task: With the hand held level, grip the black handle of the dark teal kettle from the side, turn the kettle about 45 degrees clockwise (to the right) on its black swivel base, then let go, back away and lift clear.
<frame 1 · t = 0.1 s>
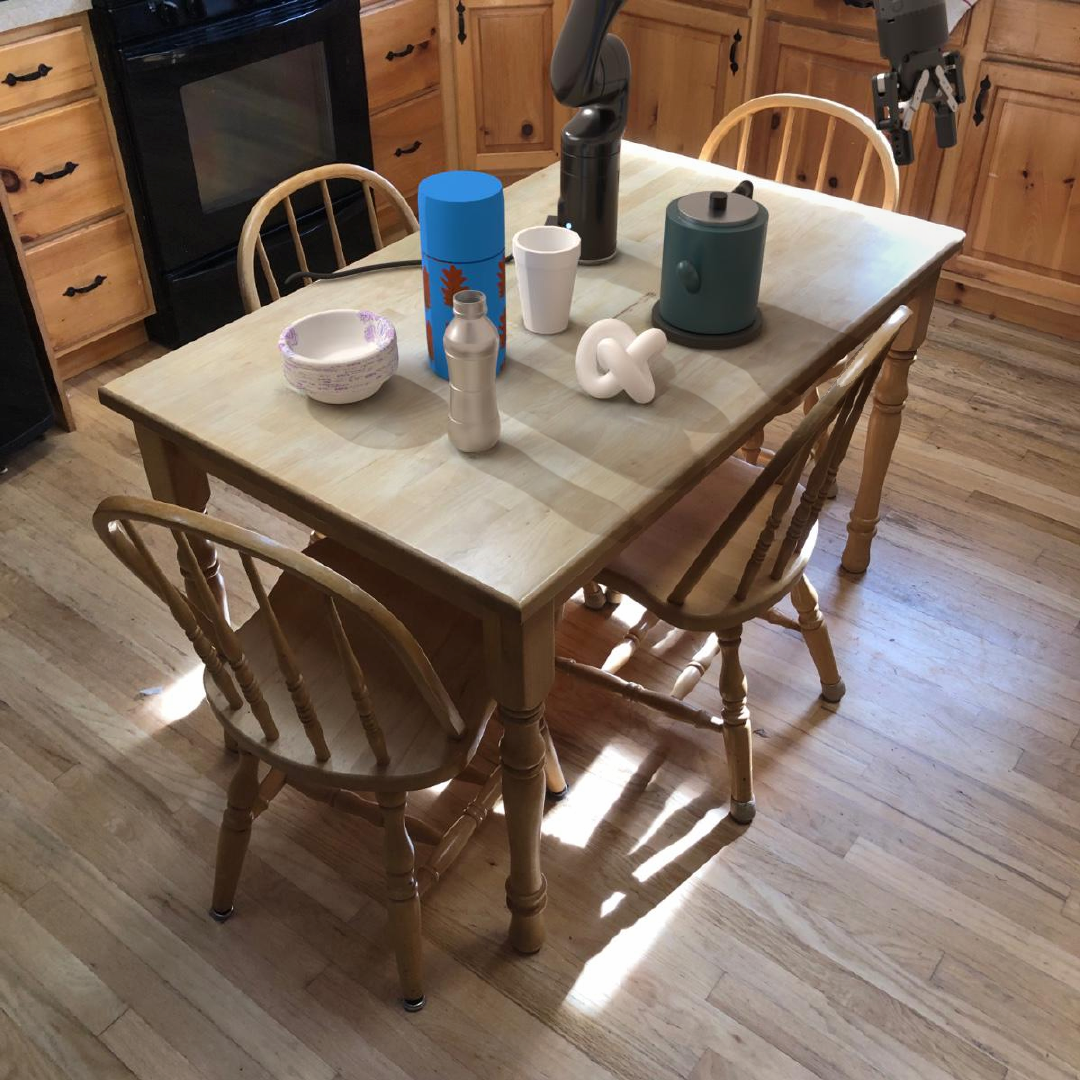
hand: (926, 155, 138), 31 cm above the table, tool tilted 20°, fingers open, 8 cm apart
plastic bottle: (474, 446, 147), on the table
thermos: (467, 364, 163), on the table
kettle: (716, 251, 166), point 11 cm above the table, hinge at 0.0°
foam cup: (546, 325, 172), on the table
white knot sculpture: (623, 395, 156), on the table
paper bowls: (343, 388, 158), on the table
kettle base: (706, 323, 172), on the table
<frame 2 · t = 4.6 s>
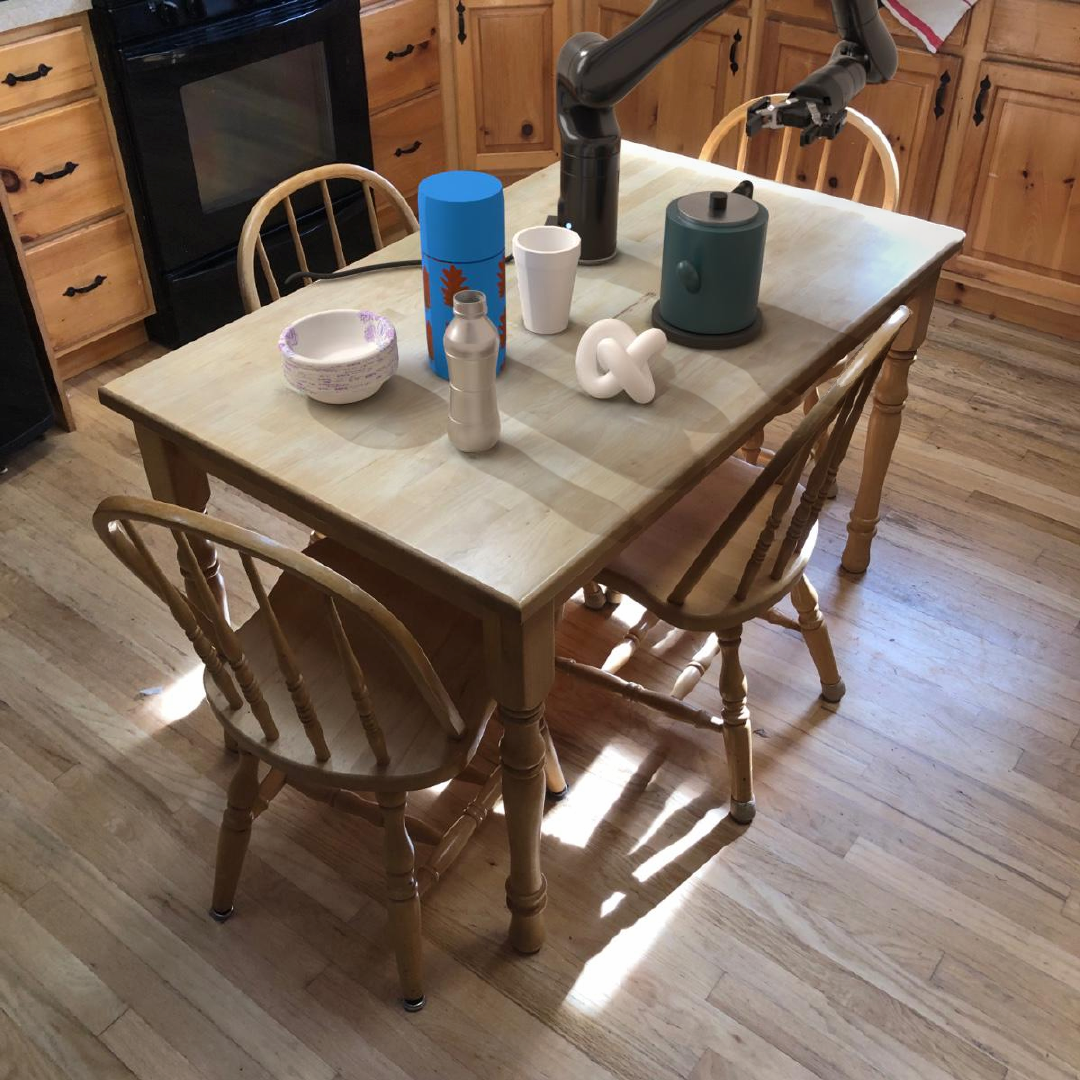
hand: (775, 135, 173), 21 cm above the table, tool horizontal, fingers open, 8 cm apart
nothing on the table moved.
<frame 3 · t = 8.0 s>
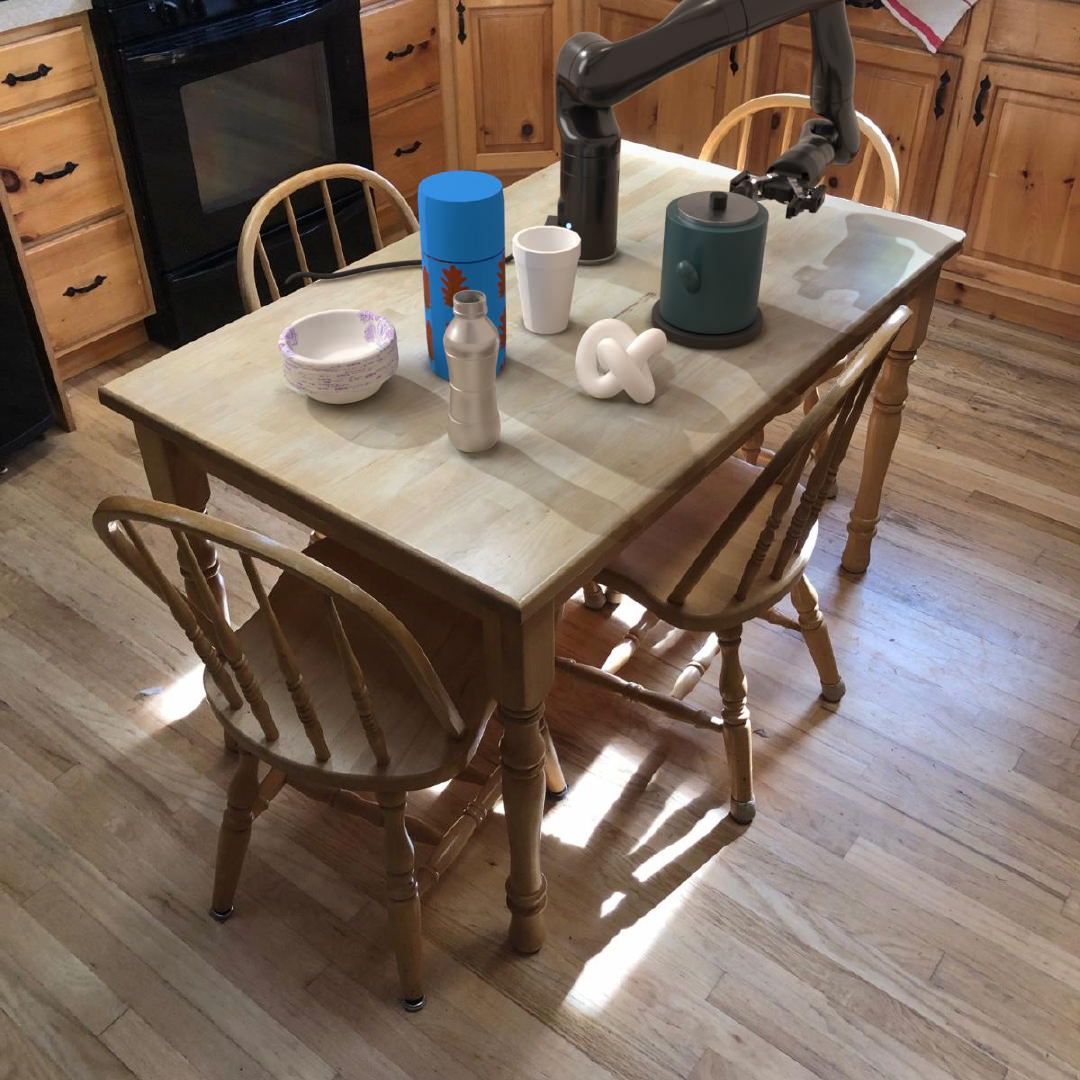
hand: (761, 207, 179), 11 cm above the table, tool horizontal, fingers open, 8 cm apart
nothing on the table moved.
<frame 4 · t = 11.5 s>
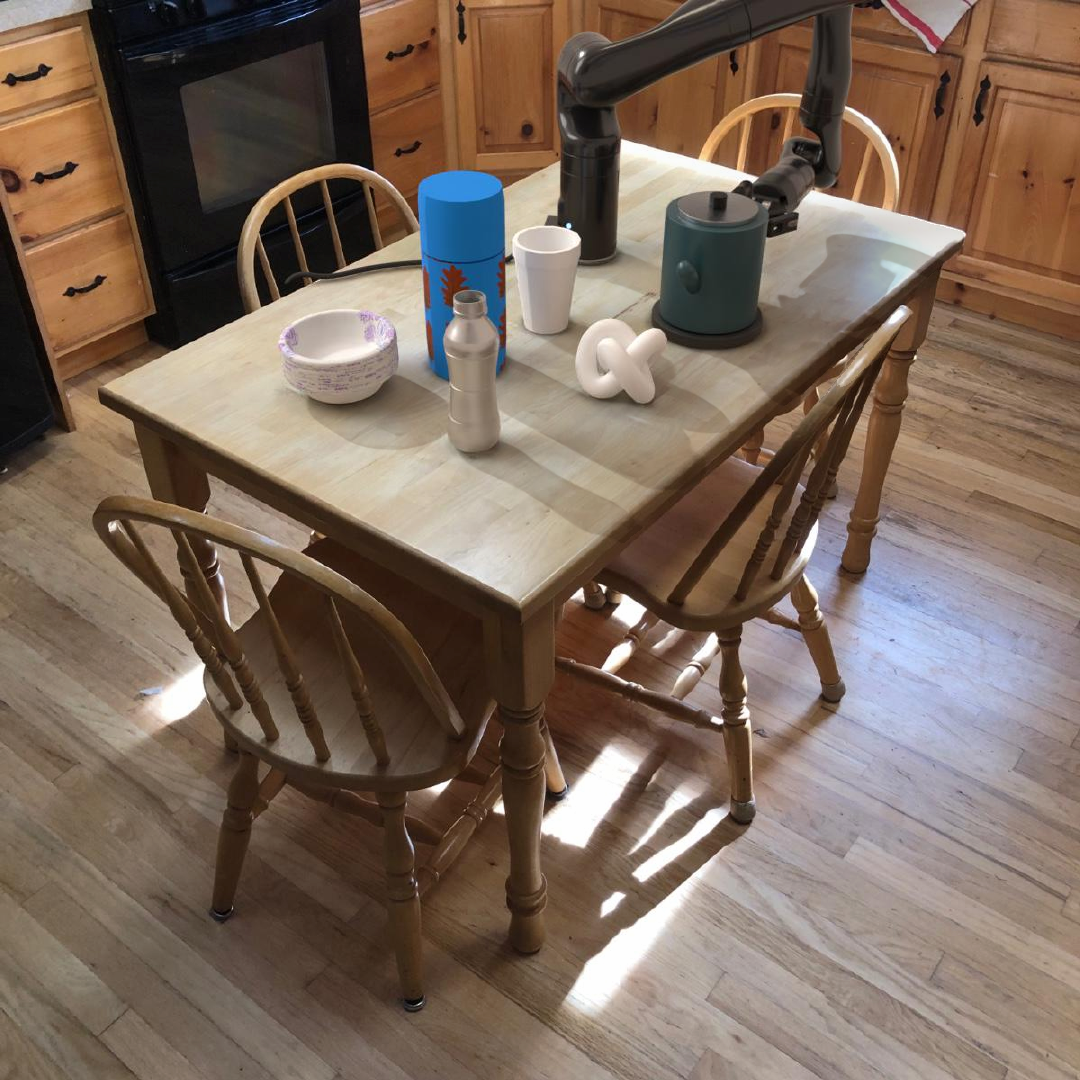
hand: (734, 235, 171), 10 cm above the table, tool horizontal, fingers closed on kettle, 2 cm apart
kettle: (716, 251, 166), point 11 cm above the table, hinge at 0.1°, touching gripper
everything else where it was.
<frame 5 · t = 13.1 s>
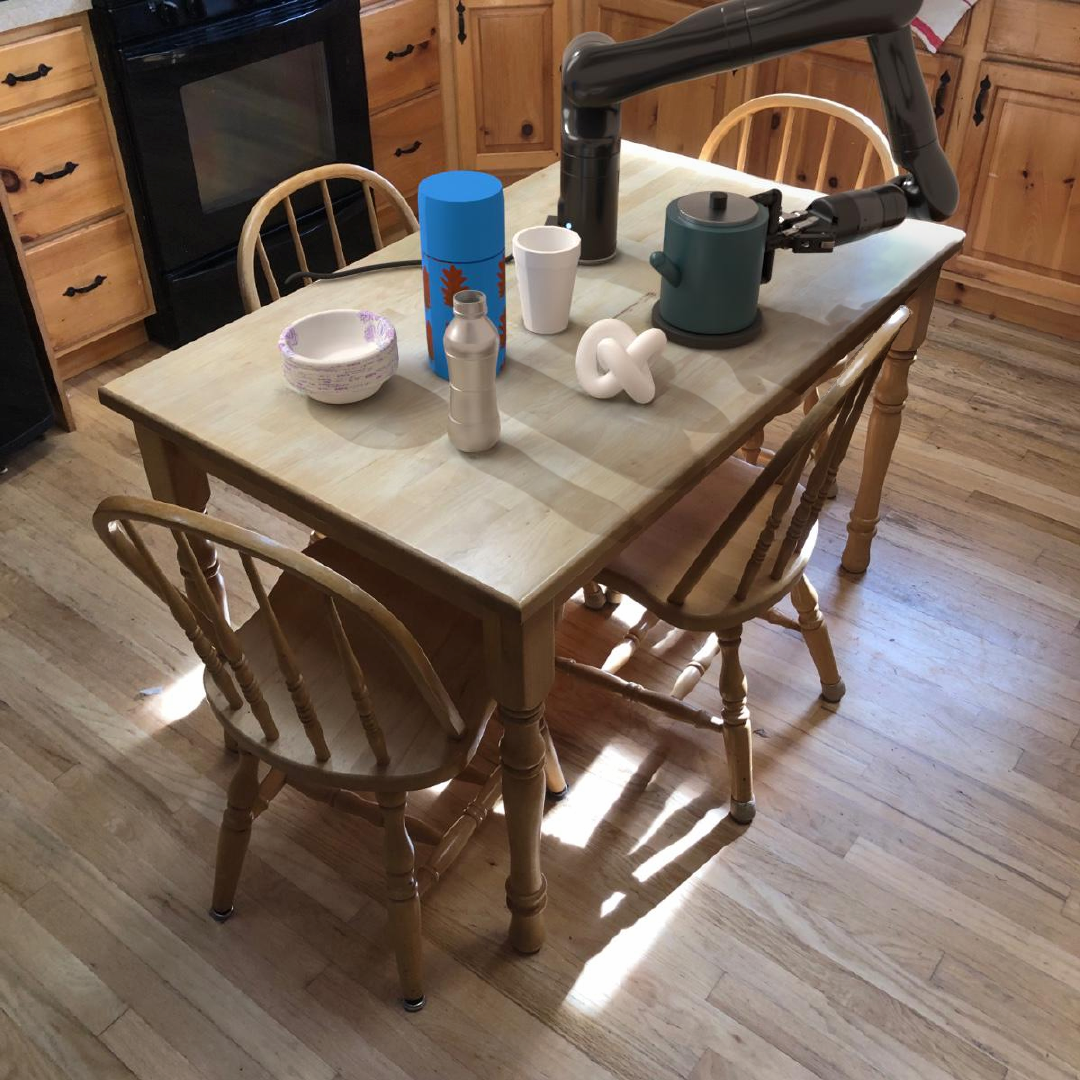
hand: (754, 241, 170), 10 cm above the table, tool horizontal, fingers closed on kettle, 2 cm apart
kettle: (719, 252, 166), point 11 cm above the table, hinge at -25.2°, touching gripper
everything else where it was.
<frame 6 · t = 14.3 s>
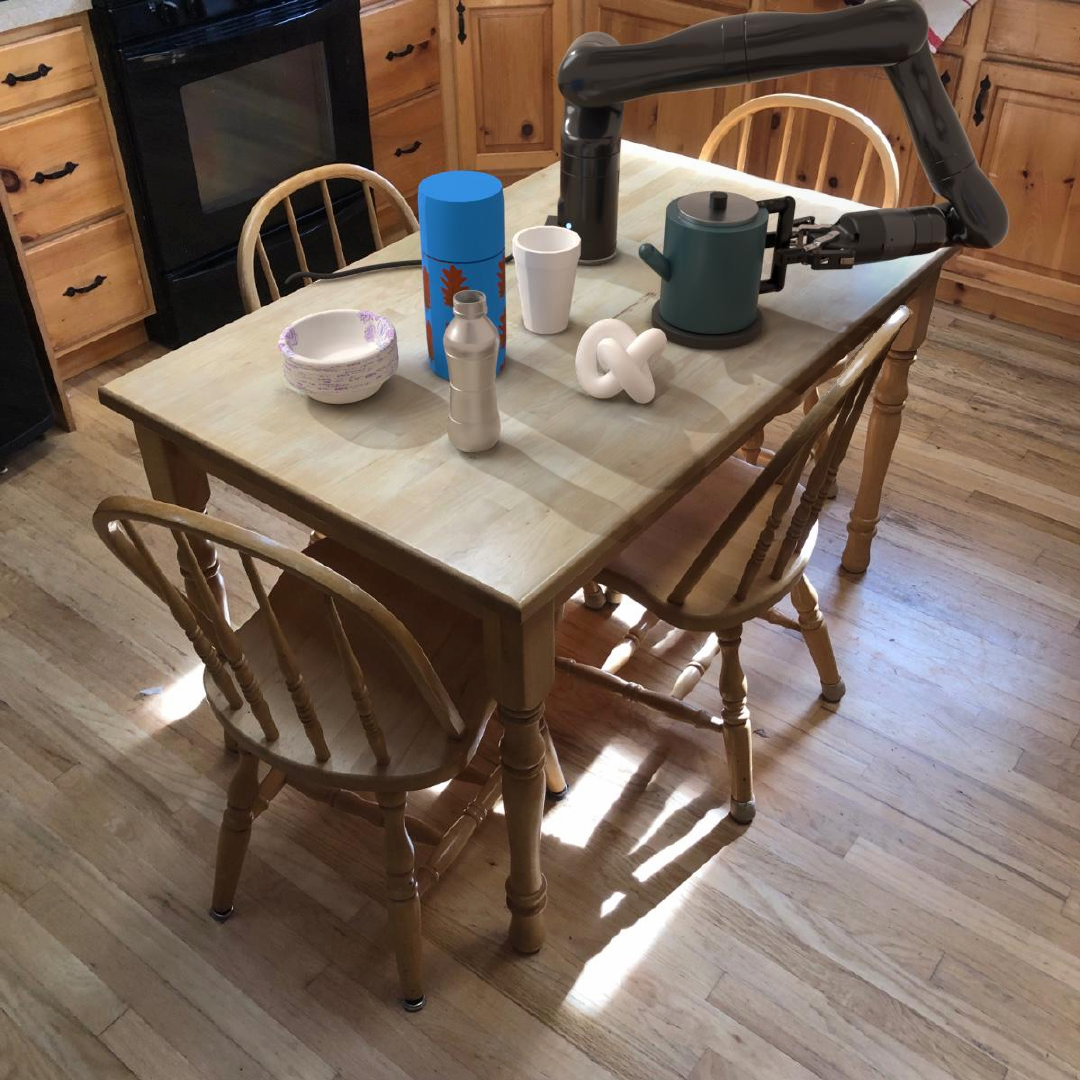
hand: (768, 249, 168), 10 cm above the table, tool horizontal, fingers open, 5 cm apart
kettle: (720, 253, 166), point 11 cm above the table, hinge at -41.1°
everything else where it was.
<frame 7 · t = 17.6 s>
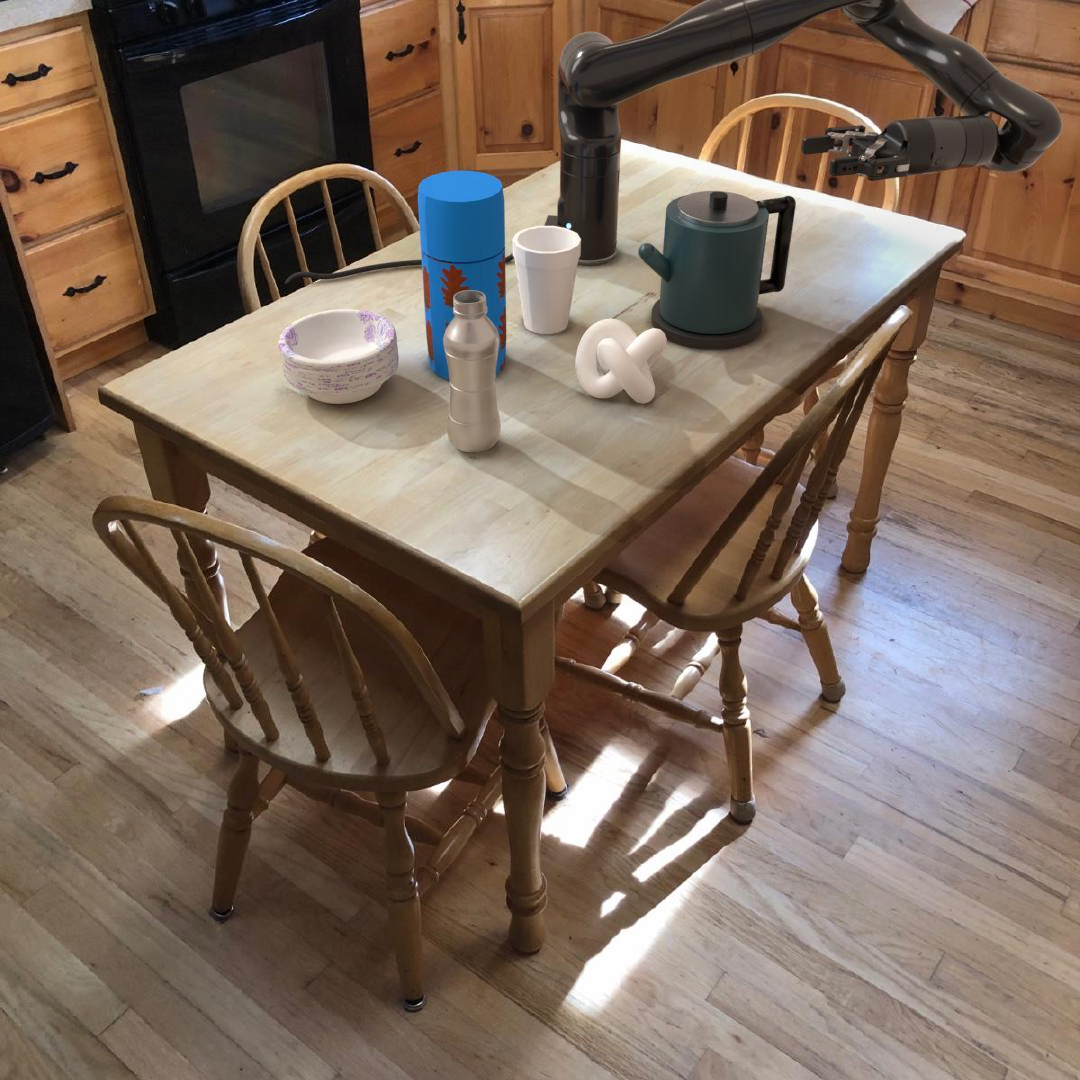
hand: (816, 156, 161), 23 cm above the table, tool horizontal, fingers open, 8 cm apart
nothing on the table moved.
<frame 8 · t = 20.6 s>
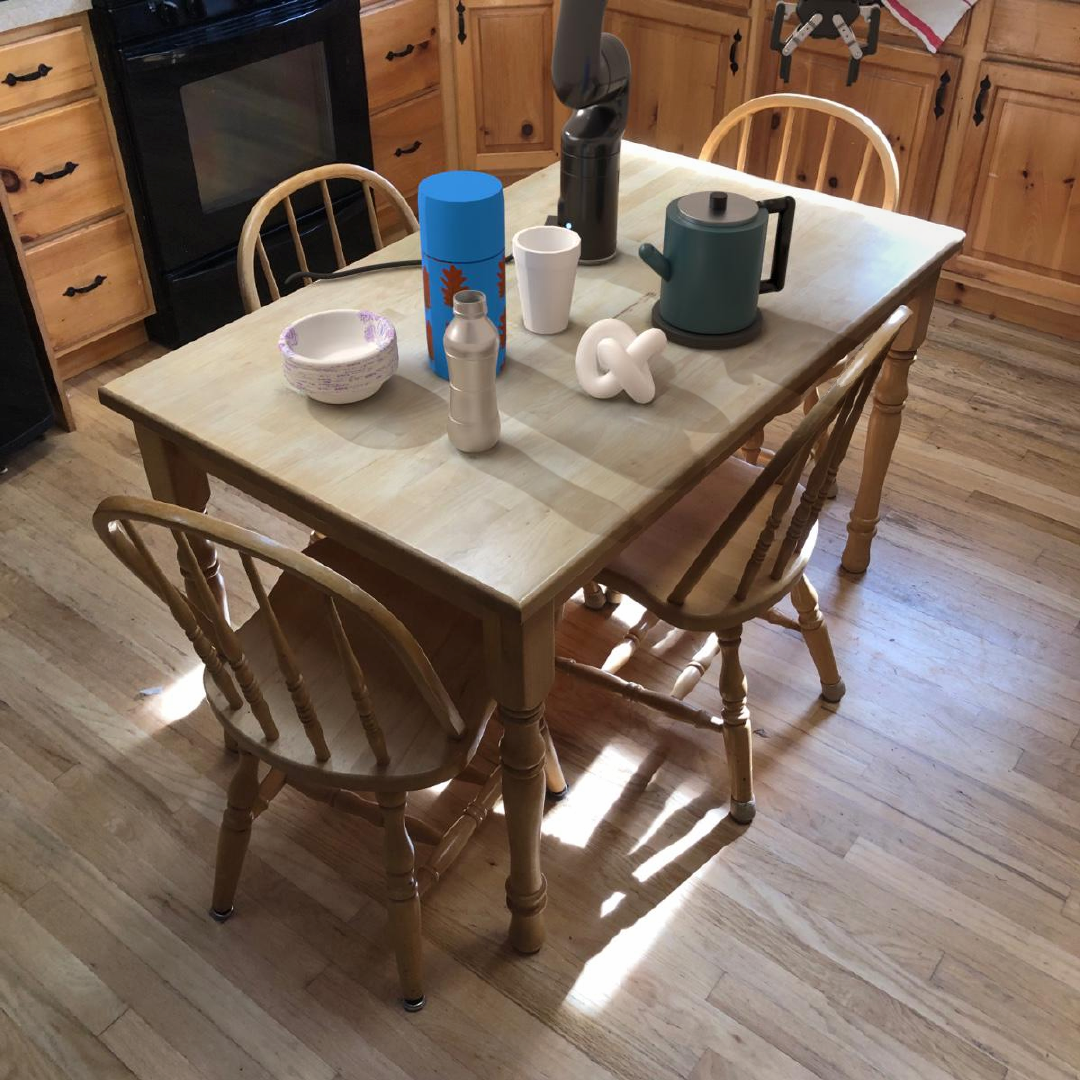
hand: (817, 83, 164), 30 cm above the table, tool pointing down, fingers open, 8 cm apart
nothing on the table moved.
at the end: kettle at -41° (first picture: +0°) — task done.
